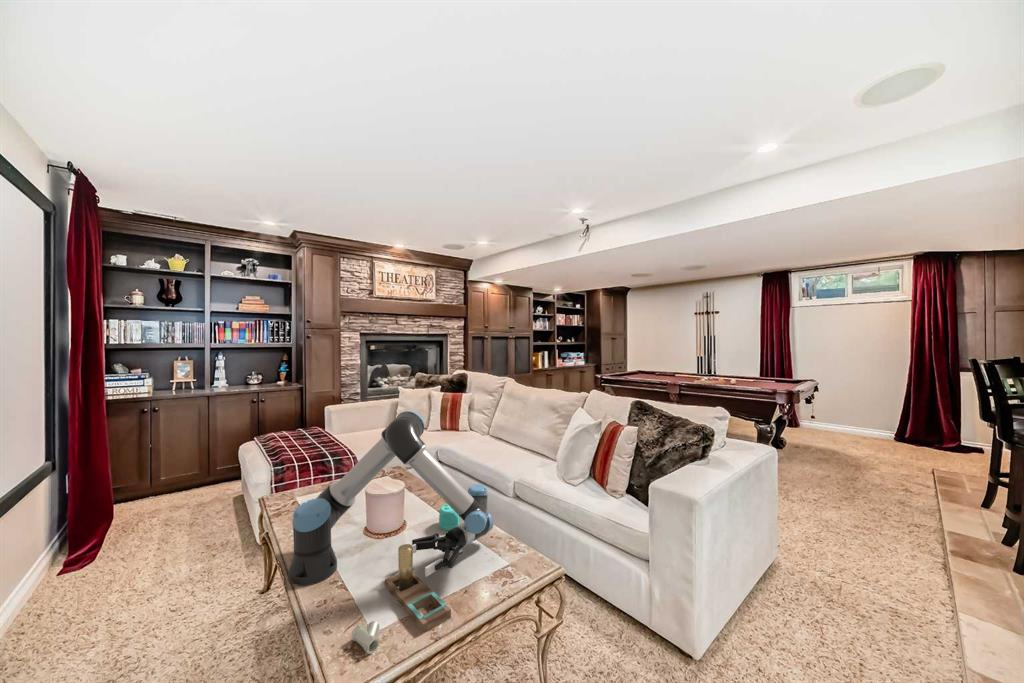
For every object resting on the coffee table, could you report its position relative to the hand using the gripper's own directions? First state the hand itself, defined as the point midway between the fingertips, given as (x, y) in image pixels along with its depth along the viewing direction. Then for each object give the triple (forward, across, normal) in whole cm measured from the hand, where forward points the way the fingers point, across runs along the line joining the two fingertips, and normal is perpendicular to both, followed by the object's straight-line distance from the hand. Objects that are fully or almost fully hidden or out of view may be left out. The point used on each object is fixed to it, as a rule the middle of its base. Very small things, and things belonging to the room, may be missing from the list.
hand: (412, 564), depth 130 cm
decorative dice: (-35, +20, -8) cm, 41 cm away
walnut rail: (+3, -6, -8) cm, 11 cm away
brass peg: (+2, +1, -8) cm, 8 cm away
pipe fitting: (+21, -9, -8) cm, 24 cm away
